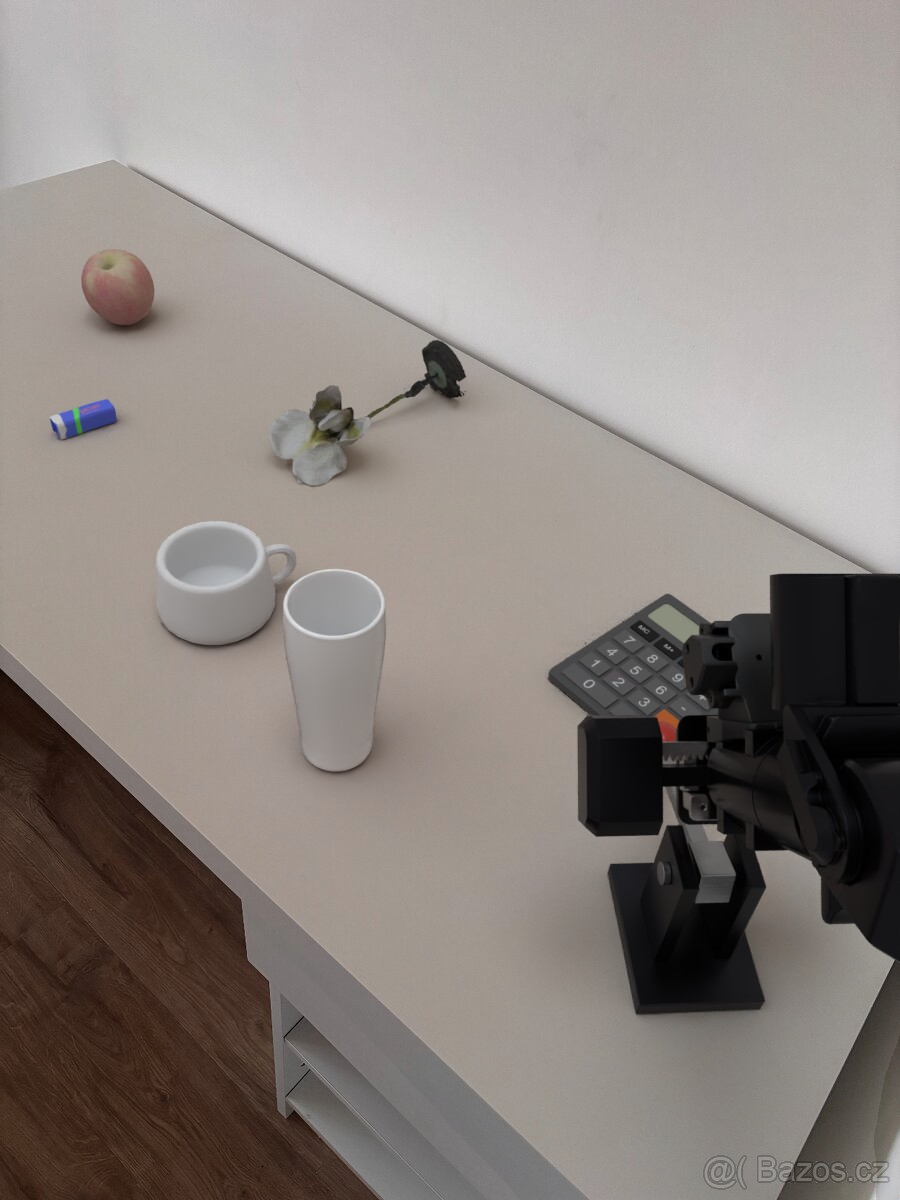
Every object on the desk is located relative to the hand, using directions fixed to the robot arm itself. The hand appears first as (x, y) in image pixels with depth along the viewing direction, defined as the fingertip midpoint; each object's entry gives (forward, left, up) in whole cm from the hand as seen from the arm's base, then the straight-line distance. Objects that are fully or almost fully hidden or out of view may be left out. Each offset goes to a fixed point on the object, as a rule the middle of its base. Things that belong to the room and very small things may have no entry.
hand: (701, 754), depth 65 cm
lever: (0, 0, -7) cm, 7 cm away
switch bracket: (-6, +1, -12) cm, 13 cm away
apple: (+82, +28, -12) cm, 87 cm away
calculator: (+16, -8, -12) cm, 21 cm away
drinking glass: (+16, +19, -12) cm, 28 cm away
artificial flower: (+53, +6, -12) cm, 55 cm away
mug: (+33, +24, -12) cm, 43 cm away
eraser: (+61, +34, -12) cm, 71 cm away
